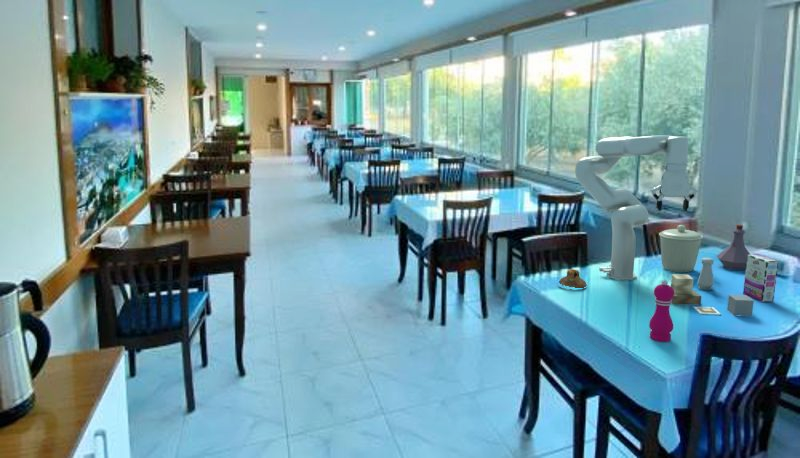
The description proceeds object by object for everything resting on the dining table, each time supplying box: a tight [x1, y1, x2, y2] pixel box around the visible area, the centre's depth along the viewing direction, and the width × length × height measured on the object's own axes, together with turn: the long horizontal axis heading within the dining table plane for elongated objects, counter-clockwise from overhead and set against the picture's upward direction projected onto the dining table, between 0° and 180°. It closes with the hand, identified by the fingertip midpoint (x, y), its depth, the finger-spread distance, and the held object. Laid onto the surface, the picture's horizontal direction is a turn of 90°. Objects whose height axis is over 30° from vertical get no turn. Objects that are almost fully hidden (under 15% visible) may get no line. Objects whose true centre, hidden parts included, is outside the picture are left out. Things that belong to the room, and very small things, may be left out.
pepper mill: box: [648, 279, 674, 343], centre depth 183 cm, size 7×7×20 cm
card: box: [692, 306, 721, 316], centre depth 208 cm, size 7×7×1 cm
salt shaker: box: [697, 257, 715, 291], centre depth 232 cm, size 6×6×13 cm
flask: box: [716, 224, 752, 271], centre depth 260 cm, size 16×16×20 cm
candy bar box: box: [742, 254, 780, 303], centre depth 219 cm, size 11×5×16 cm, turn 5°
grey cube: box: [726, 294, 755, 317], centre depth 205 cm, size 6×6×6 cm
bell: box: [558, 268, 588, 288], centre depth 239 cm, size 12×12×7 cm
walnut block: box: [671, 289, 702, 306], centre depth 219 cm, size 10×10×4 cm
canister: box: [658, 224, 704, 273], centre depth 258 cm, size 18×18×21 cm
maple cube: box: [670, 273, 694, 294], centre depth 219 cm, size 6×6×6 cm
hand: (672, 210), depth 226 cm, fingers open, 9 cm apart
